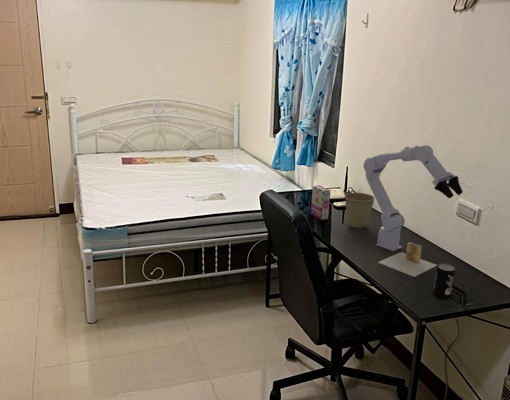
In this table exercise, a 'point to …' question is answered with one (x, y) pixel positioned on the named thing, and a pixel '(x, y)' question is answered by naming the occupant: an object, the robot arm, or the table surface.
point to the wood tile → (413, 252)
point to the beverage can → (444, 281)
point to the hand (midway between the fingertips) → (456, 195)
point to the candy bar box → (320, 202)
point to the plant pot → (358, 208)
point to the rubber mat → (407, 264)
